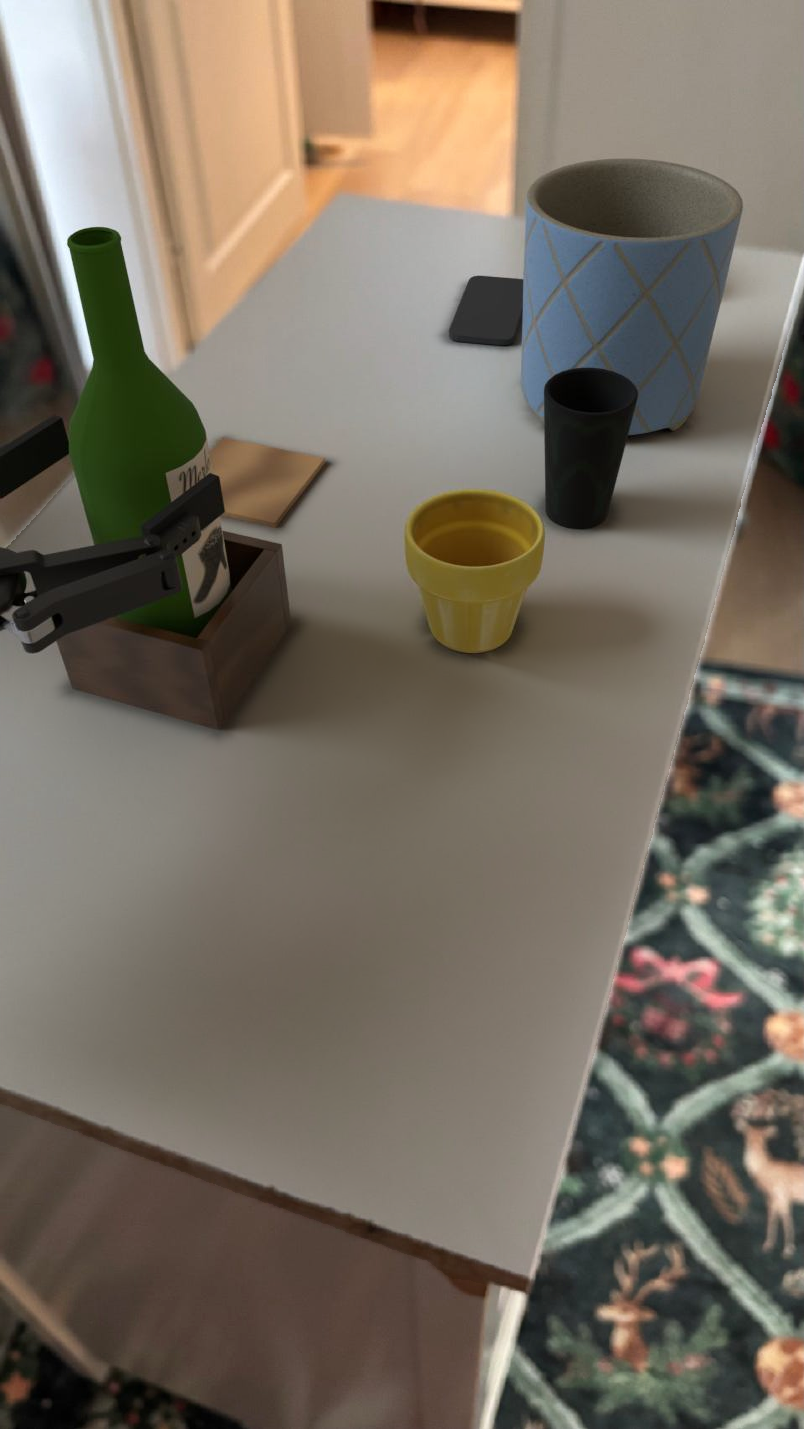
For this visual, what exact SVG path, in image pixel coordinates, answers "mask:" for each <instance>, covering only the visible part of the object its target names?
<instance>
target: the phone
mask: <svg viewBox="0 0 804 1429" xmlns="http://www.w3.org/2000/svg"><path fill="white" fill-rule="evenodd" d="M522 318H523V278H513V277H503V276H502V277H501V276H491V275H473V276H471V277H469V279H468V281H467V283H466V286H465V289H464V291H463V293H462V296H461V299H460V301H459V304H458V306H457V309H456V311H455V314H454V316H453V319H452V321H451V323H450V326H449V329H448V337H449V339H450V340H452V341H454V342H462V343H473V344H482V345H483V344H484V345H495V346H509V345H511V344H513V343H514V341H515V340H516V339H515V338H516V336H517V332H518V330H519V326H520V323H521V320H522Z"/></svg>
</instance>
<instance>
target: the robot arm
mask: <svg viewBox="0 0 804 1429" xmlns="http://www.w3.org/2000/svg"><path fill="white" fill-rule="evenodd" d="M68 455H69V436H68V434H67V431H66V426H65V423H64V420H63V417H61V416H59V415H57V414H53V415H51V416H49V417H48V418H46V419H45V420H43V421H42V422H40V423H39V424H37V425H35V426H33V427H32V428H31V429H29V430H27V431H25V432H24V433H23V434H21V435H19V436H17V437H16V438H14V439H12V440H11V441H10V442H8V443H5V444H2V445H0V500H3V499H4V498H5V497H7V496H8V495H10V494H12V493H13V492H14V491H16V490H18V489H19V488H21V487H22V486H23V485H25V484H27V483H28V482H30V481H31V480H32V479H34V478H36V477H37V476H38V475H40V474H41V473H44V471H46V470H47V469H49V468H51V467H52V466H54V465H55V464H56V463H58V462H60V461H61V460H63V459H64V458H65V457H67V456H68ZM224 512H225V508H224V502H223V496H222V490H221V484H220V478H219V476H217V475H214V474H212V473H209V474H208V475H206V476H205V477H204V478H203V479H201V480H200V481H199V482H197V483H196V484H195V485H193V486H192V487H191V488H189V489H188V490H187V491H186V492H184V493H183V494H182V495H180V496H179V497H178V498H176V499H175V500H174V501H172V502H171V503H170V504H168V505H167V506H166V507H165V508H163V509H162V510H161V511H159V512H158V513H157V514H155V515H154V516H153V517H151V518H150V519H149V520H147V521H146V522H145V523H144V524H142V525H141V530H142V534H143V536H139V537H134V538H129V539H124V540H119V541H113V542H108V543H103V544H98V545H94V544H93V545H88V546H84V547H78V548H73V549H69V550H63V551H58V552H51V553H47V554H42V553H40V551H38V550H34V549H31V550H29V549H28V550H24V551H20V552H19V551H18V552H16V551H14V550H12V549H10V548H6V547H1V546H0V632H1V631H5V630H8V631H9V632H11V633H12V634H14V635H15V636H17V637H18V638H19V639H20V642H21V645H22V647H23V650H24V652H26V653H28V654H37V653H40V652H42V651H43V650H45V649H46V648H48V647H49V646H51V645H52V644H54V643H56V642H57V640H58V639H60V638H61V637H63V636H64V635H66V634H69V633H72V632H75V631H77V630H80V629H83V628H85V627H88V626H91V625H93V624H96V623H99V622H102V621H104V620H107V619H110V618H112V617H115V616H118V615H120V614H123V613H126V612H129V611H131V610H134V609H137V608H139V607H142V606H145V605H147V604H150V603H153V602H156V601H158V600H161V599H164V598H166V597H169V596H172V595H174V594H177V593H179V592H180V591H181V590H182V589H183V585H182V580H181V575H180V570H179V565H178V561H177V558H178V557H179V556H180V555H181V554H183V553H184V552H185V551H186V550H188V548H190V547H191V546H192V545H194V544H195V543H196V542H197V541H199V539H200V537H201V531H202V530H203V529H204V528H206V527H207V526H208V525H209V524H211V523H212V522H213V521H214V520H216V519H217V518H218V517H219V516H220V517H221V515H222V514H223V513H224ZM140 555H143V557H142V558H139V559H138V557H139V556H140ZM25 572H27V573H29V575H30V577H31V580H32V583H33V586H34V589H35V590H33V591H29V592H26V590H27V587H28V586H27V585H28V579H27V576H26V573H25Z"/></svg>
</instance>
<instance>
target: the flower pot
mask: <svg viewBox="0 0 804 1429" xmlns="http://www.w3.org/2000/svg"><path fill="white" fill-rule="evenodd" d="M545 539H546V529H545V525H544V521H543V520H542V517H541V516H540V514H539V513H538V512H537V511H536V510H535V509H534V507H532V506H531V505H530V504H528V503H527V502H526V501H524V500H523V499H520V498H518V497H516V496H513V495H511V494H509V493H506V492H502V491H497V490H491V489H483V488H467V489H466V488H465V489H464V488H463V489H455V490H449V491H446V492H442V493H439V494H437V495H434V496H432V497H431V496H430V497H429V498H427V499H425V500H424V501H423V502H421V503H419V504H418V505H417V506H416V507H415V508H414V509H413V510H412V511H411V513H409V515H408V517H407V519H406V521H405V525H404V555H405V565H406V569H407V572H408V574H409V577H410V578H411V579H412V581H413V582H414V583H415V584H416V585H417V586H418V589H419V594H420V597H421V600H422V603H423V608H424V611H425V614H426V618H427V622H428V626H429V629H430V632H431V634H432V635H433V637H434V638H435V639H436V641H437V642H439V643H440V644H441V645H443V647H446V648H447V649H450V650H452V651H455V652H460V653H463V654H480V653H486V652H489V651H493V650H495V649H497V648H500V647H501V646H503V645H504V644H505V643H506V642H507V641H508V640H509V638H510V637H511V635H512V633H513V630H514V627H515V624H516V622H517V618H518V616H519V613H520V610H521V607H522V605H523V602H524V599H525V595H526V593H527V590H528V588H529V587H530V586H531V585H532V584H533V583H534V582H535V580H536V579H537V578H538V576H539V574H540V572H541V569H542V564H543V558H544V552H545V551H544V550H545V549H544V548H545Z"/></svg>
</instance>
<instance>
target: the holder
mask: <svg viewBox="0 0 804 1429" xmlns="http://www.w3.org/2000/svg"><path fill="white" fill-rule="evenodd" d="M222 531H223V537H224V543H225V549H226V555H227V561H228V568H229V574H230V582H231V588H232V592H231V594H230V595H229V596H228V598H227V599H226V600H225V602H224V603H223V604H222V605H221V607H220V608H219V609H218V611H217V612H216V613H215V615H214V616H213V617H212V619H211V620H210V621H209V623H208V624H207V625H206V627H205V628H204V629H203V630H202V632H201V633H200V634H199V636H198V637H197V638H194V637H190V636H186V635H182V634H178V633H174V632H171V631H167V630H163V629H159V628H155V627H151V626H147V625H144V624H140V623H136V622H132V621H128V620H124V619H120V618H117V617H112V618H110V619H107V620H104V621H102V622H99V623H96V624H93V625H91V626H88V627H85V628H83V629H80V630H77V631H75V632H72V633H69V634H66V635H64V636H63V637H61V638H60V639H58V640H57V641H56V644H57V648H58V650H59V653H60V656H61V659H62V662H63V665H64V668H65V671H66V674H67V676H68V680H69V683H70V686H71V689H72V690H76V691H78V692H83V693H85V694H88V695H89V694H90V695H93V696H95V697H96V696H97V697H100V698H104V699H106V700H107V699H108V700H110V701H114V702H117V703H121V704H125V705H128V706H131V707H136V708H139V709H143V710H146V711H150V712H154V713H156V714H159V715H163V716H167V717H170V718H174V719H178V720H181V721H185V722H188V723H191V724H195V725H199V726H203V727H206V728H209V729H213V730H217V731H219V730H220V729H221V728H222V726H223V724H224V723H225V722H226V720H227V719H228V717H229V716H230V714H231V713H232V712H233V710H234V709H235V707H236V706H237V704H238V703H239V701H240V699H241V698H242V697H243V695H244V694H245V692H246V691H247V689H248V688H249V686H250V685H251V683H252V682H253V680H255V678H256V676H257V675H258V673H259V672H260V670H261V669H262V667H263V666H264V664H265V663H266V661H267V660H268V658H269V657H270V656H271V654H272V653H273V651H274V650H275V648H276V647H277V645H278V644H279V643H280V641H281V639H282V638H283V636H284V635H285V634H286V633H287V631H288V629H289V627H290V626H291V625H292V620H291V619H292V618H291V608H290V602H289V592H288V584H287V575H286V568H285V567H286V566H285V560H284V559H285V558H284V551H283V544H282V543H280V542H275V541H269V540H266V539H261V538H258V537H257V538H256V537H252V536H248V535H244V534H239V533H235V532H231V531H226V530H222Z"/></svg>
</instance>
